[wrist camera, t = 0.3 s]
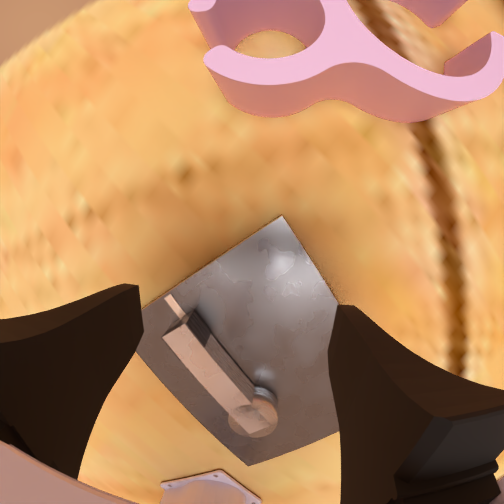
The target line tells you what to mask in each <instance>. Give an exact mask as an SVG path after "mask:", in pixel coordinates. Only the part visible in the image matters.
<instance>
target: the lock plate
mask: <svg viewBox="0 0 504 504" xmlns="http://www.w3.org/2000/svg"><path fill="white" fill-rule="evenodd" d="M337 305H340V304H339V303H338V301H337V300H336V298H335V296H334V295H333V293H332V292H331V290H330V288H329V287H328V285H327V284H326V282H325V280H324V279H323V277H322V276H321V274H320V272H319V271H318V269H317V268H316V266H315V265H314V263H313V261H312V260H311V258H310V257H309V255H308V254H307V252H306V251H305V249H304V247H303V246H302V244H301V243H300V241H299V240H298V238H297V237H296V235H295V234H294V232H293V231H292V229H291V228H290V226H289V225H288V223H287V222H286V220H285V219H284V217H283V216H282V215H280V216H279V217H277V218H276V219H274V220H273V221H271V222H270V223H268V224H267V225H265V226H264V227H262V228H261V229H259V230H258V231H256V232H254V233H253V234H251V235H250V236H248V237H247V238H245V239H244V240H242V241H241V242H239V243H238V244H236V245H235V246H233V247H232V248H231V249H229V250H228V251H226V252H225V253H223V254H222V255H220V256H219V257H217V258H216V259H214V260H213V261H211V262H210V263H208V264H207V265H205V266H204V267H202V268H201V269H199V270H198V271H196V272H195V273H193V274H192V275H190V276H189V277H187V278H186V279H185V280H183V281H182V282H180V283H179V284H177V285H176V286H174V287H173V288H171V289H170V290H168V291H167V292H165V293H164V294H162V295H161V296H160V297H158V298H157V299H155V300H154V301H152V302H151V303H149V304H148V305H146V306H145V307H144V308H142V309H141V311H142V319H143V326H144V333H143V336H142V338H141V340H140V343H139V345H138V347H137V349H136V352H137V354H138V355H139V356H140V357H141V358H142V360H143V361H144V362H145V363H146V364H147V366H148V367H149V368H150V369H151V370H152V371H153V373H154V374H155V375H156V376H157V377H158V378H159V380H160V381H161V382H162V383H163V384H164V385H165V386H166V387H167V388H168V390H169V391H170V392H171V393H172V394H173V395H174V396H175V397H176V398H177V399H178V400H179V401H180V402H181V404H182V405H183V406H184V407H185V408H186V409H187V410H188V411H189V412H190V413H191V414H192V415H193V416H194V417H195V418H196V419H197V420H198V421H199V422H200V423H201V424H202V425H203V426H204V427H205V428H206V429H207V430H208V431H209V432H210V433H211V434H213V435H214V436H215V437H216V438H217V439H218V440H219V441H220V442H221V443H222V444H223V445H224V446H226V447H227V448H228V449H229V450H230V451H231V452H232V453H233V454H234V455H236V456H237V457H238V458H239V459H240V460H241V461H243V462H244V463H245V464H246V465H247V466H251V465H254V464H257V463H260V462H263V461H266V460H269V459H272V458H275V457H278V456H280V455H283V454H286V453H288V452H291V451H294V450H296V449H299V448H301V447H304V446H306V445H309V444H311V443H313V442H316V441H318V440H320V439H323V438H325V437H327V436H329V435H331V434H334V433H336V432H338V431H339V423H338V418H337V413H336V408H335V403H334V398H333V393H332V388H331V383H330V378H329V369H328V353H327V351H328V347H329V342H330V338H331V333H332V329H333V324H334V319H335V314H336V309H337ZM193 310H195V311H196V312H197V314H198V315H199V316H200V318H201V319H202V320H203V322H204V323H205V324H206V325H207V327H208V328H209V329H210V331H211V334H212V335H213V336H214V338H215V339H216V340H217V342H218V343H219V344H220V345H221V347H222V348H223V349H224V350H225V352H226V353H227V354H228V355H229V356H230V358H231V359H232V360H233V361H234V363H235V364H236V365H237V366H238V367H239V369H240V370H241V371H242V372H243V373H244V375H245V376H246V377H247V378H248V379H249V380H250V382H251V383H252V384H253V385H254V386H255V387H261V388H265V389H267V390H269V391H270V392H272V393H273V394H274V395H275V397H276V398H277V401H278V419H277V426H276V428H275V430H274V431H273V432H272V433H270V434H268V435H266V436H263V437H258V438H251V437H245V436H242V435H240V434H238V433H236V432H235V431H234V430H233V429H232V428H231V427H230V425H229V423H228V417H229V413H228V412H227V411H226V410H225V409H224V408H223V407H222V406H221V405H220V404H219V403H218V402H217V401H216V400H215V398H214V397H213V396H212V395H211V394H210V393H209V392H208V391H207V390H206V389H205V387H204V386H203V385H202V384H201V383H200V382H199V381H198V380H197V378H196V377H195V376H194V375H193V374H192V373H191V372H190V370H189V369H188V368H187V367H186V366H185V365H184V363H183V362H182V361H181V360H180V361H179V359H178V358H177V357H176V356H175V355H174V353H173V352H172V351H171V350H170V348H169V347H168V346H167V345H166V344H165V342H164V341H163V340H162V339H161V337H162V336H163V335H164V333H165V332H166V331H167V329H168V328H169V326H170V325H171V324H172V323H174V322H175V321H177V320H179V319H180V318H182V317H183V316H185V315H187V314H188V313H190V312H192V311H193Z"/></svg>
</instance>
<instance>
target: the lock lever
mask: <svg viewBox="0 0 504 504" xmlns="http://www.w3.org/2000/svg"><path fill="white" fill-rule="evenodd" d="M161 339H162V340H163V341H164V342H165V344H166V345H167V346H168V347H169V348H170V350H171V351H172V352H173V353H174V355H175V356H176V357H177V358H178V359H179V361H180V360H181V361H182V362H183V363H184V365H185V366H186V367H187V368H188V369H189V370H190V372H191V373H192V374H193V375H194V376H195V377H196V378H197V380H198V381H199V382H200V383H201V384H202V385H203V386H204V387H205V389H206V390H207V391H208V392H209V393H210V394H211V395H212V396H213V397H214V398H215V400H216V401H217V402H218V403H219V404H220V405H221V406H222V407H223V408H224V409H225V410H226V411H227V412H228V413H229V417H228V423H229V425H230V427H231V428H232V429H233V430H234V431H235V432H236V433H238V434H240V435H242V436H245V437H251V438H258V437H263V436H266V435H268V434H270V433H272V432H273V431H274V430H275V428H276V426H277V419H278V401H277V398H276V397H275V395H274V394H273V393H272V392H270V391H269V390H267V389H265V388H261V387H255V386H254V385H253V384H252V383H251V382H250V380H249V379H248V378H247V377H246V376H245V375H244V373H243V372H242V371H241V370H240V369H239V367H238V366H237V365H236V364H235V363H234V361H233V360H232V359H231V358H230V356H229V355H228V354H227V353H226V352H225V350H224V349H223V348H222V347H221V345H220V344H219V343H218V342H217V340H216V339H215V338H214V336H213V335H212V334H211V331H210V329H209V328H208V327H207V325H206V324H205V323H204V322H203V320H202V319H201V318H200V316H199V315H198V314H197V312H196V311H195V310H193V311H192V312H190V313H188V314H187V315H185V316H183V317H182V318H180V319H179V320H177V321H175V322H174V323H172V324H171V325H170V326H169V328H168V329H167V331H166V332H165V333H164V335H163V336H162V337H161Z"/></svg>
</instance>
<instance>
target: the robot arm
mask: <svg viewBox="0 0 504 504" xmlns="http://www.w3.org/2000/svg"><path fill="white" fill-rule="evenodd" d="M143 333H144V326H143V319H142V311H141V303H140V294H139V285H132V284H120V285H117V286H113V287H111V288H108V289H105V290H103V291H100V292H97V293H95V294H92V295H90V296H87V297H85V298H82V299H80V300H77V301H74V302H71V303H69V304H66V305H63V306H60V307H57V308H54V309H51V310H48V311H44V312H40V313H36V314H32V315H26V316H21V317H15V318H9V319H0V504H139V503H135V502H132V501H129V500H126V499H123V498H120V497H118V496H115V495H112V494H109V493H107V492H104V491H102V490H99V489H97V488H94V487H92V486H89V485H87V484H85V483H82V482H80V481H78V480H77V479H78V474H79V470H80V466H81V462H82V458H83V455H84V452H85V449H86V446H87V443H88V440H89V437H90V434H91V432H92V429H93V426H94V424H95V421H96V419H97V417H98V414H99V412H100V410H101V408H102V405H103V403H104V401H105V399H106V397H107V396H108V394H109V392H110V390H111V389H112V387H113V386H114V384H115V383H116V381H117V379H118V378H119V376H120V375H121V373H122V372H123V370H124V369H125V367H126V366H127V364H128V362H129V361H130V359H131V358H132V356H133V354H134V353H135V351H136V349H137V347H138V345H139V343H140V340H141V338H142V336H143ZM327 353H328V369H329V378H330V383H331V388H332V393H333V398H334V403H335V408H336V413H337V418H338V423H339V431H340V445H341V501H340V504H504V476H503V477H502V478H500V479H499V480H497V481H496V478H495V476H494V474H493V473H495V472H496V471H497V470H498V467H499V466H498V464H497V462H496V460H495V459H496V458H497V457H498V456H499V454H500V453H501V452H502V451H503V450H504V390H501V389H497V388H493V387H489V386H485V385H481V384H478V383H475V382H472V381H469V380H467V379H464V378H461V377H459V376H456V375H454V374H452V373H450V372H448V371H445V370H443V369H441V368H439V367H437V366H435V365H433V364H432V363H430V362H428V361H426V360H425V359H423V358H421V357H420V356H418V355H416V354H415V353H413V352H412V351H410V350H409V349H407V348H406V347H405V346H403V345H402V344H401V343H399V342H398V341H396V340H395V339H394V338H393V337H391V336H390V335H389V334H388V333H386V332H385V331H384V330H383V329H382V328H380V327H379V326H378V325H377V324H376V323H375V322H373V321H372V320H371V319H370V318H369V317H368V316H367V315H365V314H364V313H363V312H362V311H361V310H359V309H358V308H357V307H355V306H354V305H337V309H336V314H335V319H334V324H333V329H332V333H331V338H330V342H329V347H328V351H327ZM160 486H161V487H162V488H163V489H165V491H164V493H163V496H162V499H161V501H160V504H261V503H262V500H261V499H260V498H258V497H257V496H255V495H254V494H253V493H251V492H250V491H249V490H247V489H246V488H244V487H243V486H242V485H240V484H239V483H238V482H236V481H235V480H234V479H233V478H231V477H230V476H229V475H227V474H226V473H225V472H224V471H222V470H216V471H213V472H209V473H205V474H201V475H197V476H192V477H188V478H183V479H178V480H173V481H168V482H162V483H161V484H160Z"/></svg>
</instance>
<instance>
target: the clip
mask: <svg viewBox="0 0 504 504" xmlns="http://www.w3.org/2000/svg"><path fill="white" fill-rule="evenodd" d="M390 1H393V2H395V3H398V4H400V5H402V6H403V7H405V8H407V9H408V10H410V11H411V12H413V13H414V14H415V15H417V16H418V17H419V18H420V19H421V20H422V21H423V22H424V23H425V24H426V25H427V26H429V27H431V28H434V27H437V26H440V25H441V24H442V23H443V22H444V21H445V20H446V19H448V18H449V17H450V16H451V15H452V14H453V13H454V12H455V11H456V10H457V9H458V8H460V7H461V6H462V5H463V4H464V3H465V2H466V1H467V0H390ZM188 8H189V10H190V12H191V14H192V15H193V17H194V19H195V21H196V23H197V25H198V26H199V28H200V30H201V32H202V34H203V36H204V38H205V40H206V42H207V43H208V45H209V47H210V49H211V50H209V51H208V52H207V53H206V54H205V56H204V64H205V65H206V67H207V68H208V70H209V72H210V73H211V75H212V76H213V78H214V80H215V81H216V83H217V85H218V86H219V88H220V89H221V91H222V93H223V94H224V96H225V98H226V99H227V101H228V102H229V103H230V104H231V105H233V106H234V107H236V108H238V109H239V110H241V111H244V112H246V113H249V114H252V115H256V116H261V117H283V116H288V115H292V114H295V113H298V112H300V111H302V110H304V109H306V108H308V107H309V106H311V105H313V104H314V103H317V102H319V101H323V100H328V99H336V100H342V101H345V102H348V103H350V104H352V105H354V106H356V107H358V108H359V109H361V110H363V111H365V112H367V113H369V114H371V115H374V116H376V117H379V118H382V119H386V120H390V121H395V122H405V123H411V122H420V121H424V120H427V119H430V118H432V117H435V116H437V115H440V114H443V113H445V112H448V111H450V110H453V109H455V108H458V107H460V106H463V105H466V104H468V103H471V102H474V101H476V100H479V99H482V98H484V97H486V96H488V95H490V94H491V93H493V92H494V91H495V90H496V89H497V88H498V87H499V85H500V84H501V82H502V80H503V78H504V36H502V35H500V34H498V33H496V32H494V31H492V32H490V33H489V34H487V35H486V36H484V37H483V38H481V39H479V40H478V41H476V42H475V43H473V44H472V45H470V46H469V47H467V48H466V49H464V50H463V51H461V52H460V53H458V54H457V55H455V56H454V57H452V58H451V59H449V60H448V61H446V62H445V64H444V75H441V74H437V73H434V72H431V71H428V70H426V69H424V68H421V67H419V66H417V65H415V64H413V63H411V62H410V61H408V60H406V59H404V58H403V57H401V56H400V55H398V54H397V53H395V52H394V51H392V50H391V49H390V48H388V47H387V46H386V45H385V44H383V43H382V42H381V41H380V40H379V39H377V38H376V37H375V36H374V35H373V34H372V33H371V32H370V31H369V30H368V29H367V28H366V27H365V26H364V25H363V24H362V22H361V21H360V20H359V19H358V17H357V16H356V15H355V13H354V12H353V11H352V9H351V7H350V6H349V4H348V2H347V0H190V1H189V3H188ZM265 30H276V31H282V32H285V33H288V34H290V35H292V36H294V37H296V38H297V39H299V40H300V41H301V42H302V43H303V44H304V45H305V47H306V49H305V50H303V51H301V52H299V53H296V54H294V55H291V56H287V57H282V58H272V59H264V58H255V57H250V56H246V55H243V54H240V53H238V52H236V51H234V49H235V48H236V46H237V45H238V44H239V43H240V42H241V41H242V40H243V39H244V38H246V37H247V36H249V35H251V34H253V33H256V32H260V31H265Z"/></svg>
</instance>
